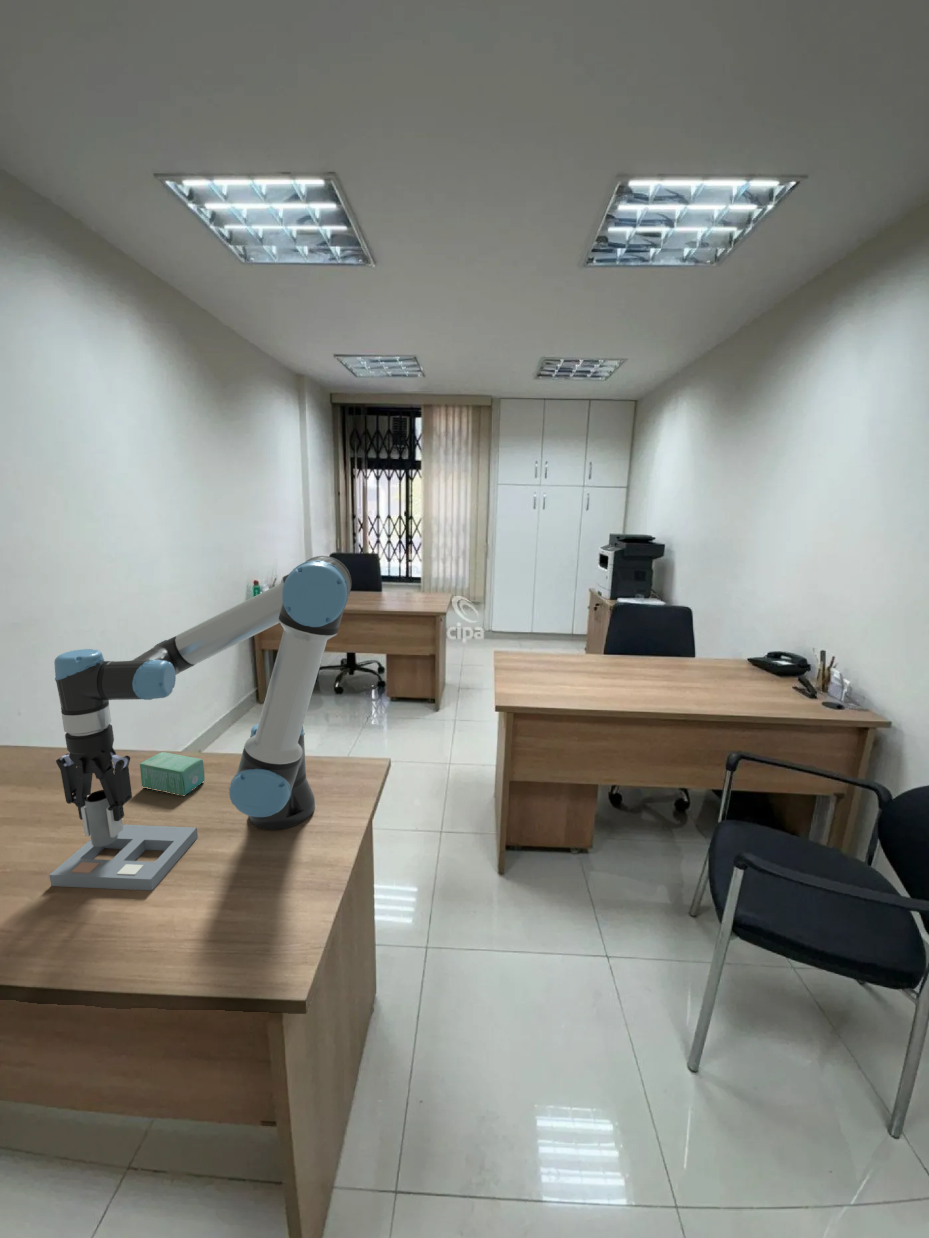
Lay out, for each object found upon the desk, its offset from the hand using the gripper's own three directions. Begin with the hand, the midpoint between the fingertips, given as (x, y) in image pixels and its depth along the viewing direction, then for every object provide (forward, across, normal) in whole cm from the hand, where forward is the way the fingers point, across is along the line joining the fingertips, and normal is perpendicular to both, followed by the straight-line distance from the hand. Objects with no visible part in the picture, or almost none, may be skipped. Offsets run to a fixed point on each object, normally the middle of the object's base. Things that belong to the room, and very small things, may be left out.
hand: (104, 832), depth 104 cm
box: (+7, +3, -28) cm, 29 cm away
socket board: (+6, -5, 0) cm, 8 cm away
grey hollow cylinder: (+2, 0, 0) cm, 2 cm away
